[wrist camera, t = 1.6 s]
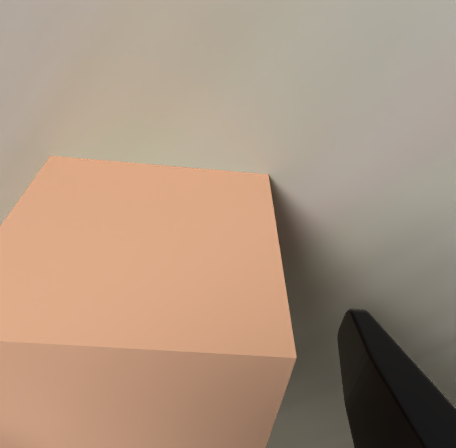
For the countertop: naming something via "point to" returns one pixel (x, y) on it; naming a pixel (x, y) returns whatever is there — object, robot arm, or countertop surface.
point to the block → (142, 309)
